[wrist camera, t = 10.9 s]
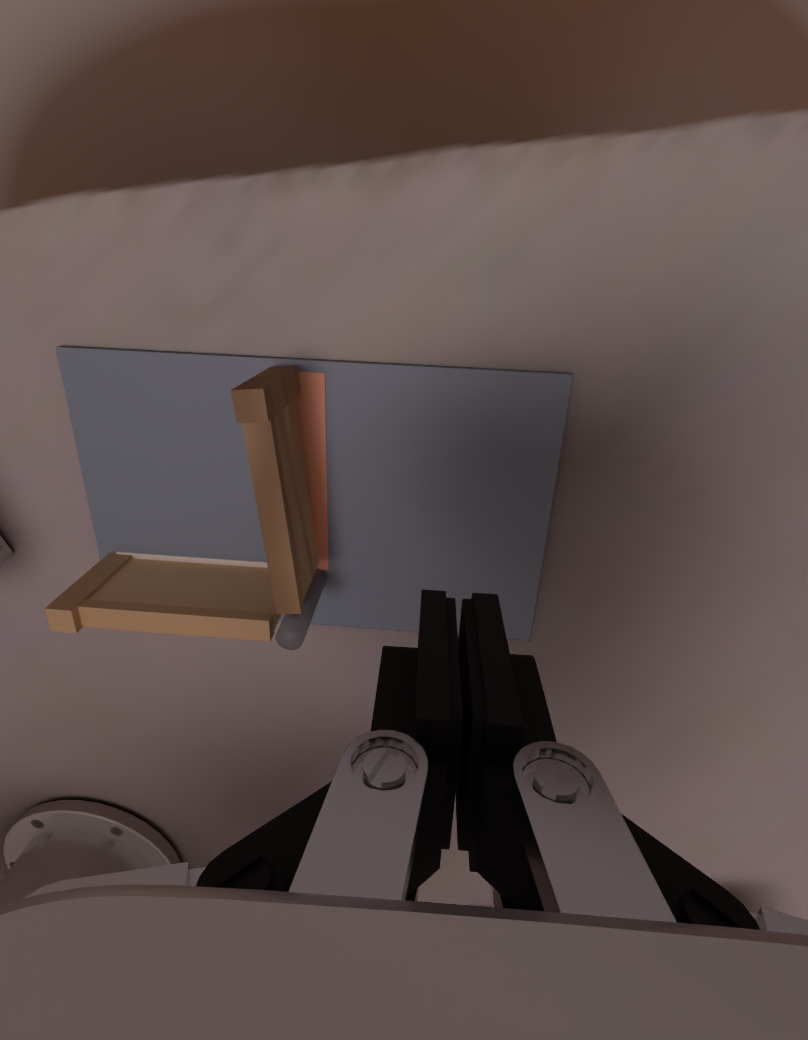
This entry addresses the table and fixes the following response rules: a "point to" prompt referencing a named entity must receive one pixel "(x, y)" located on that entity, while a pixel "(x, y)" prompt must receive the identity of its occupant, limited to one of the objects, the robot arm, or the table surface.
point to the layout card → (333, 490)
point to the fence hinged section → (279, 481)
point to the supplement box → (4, 549)
